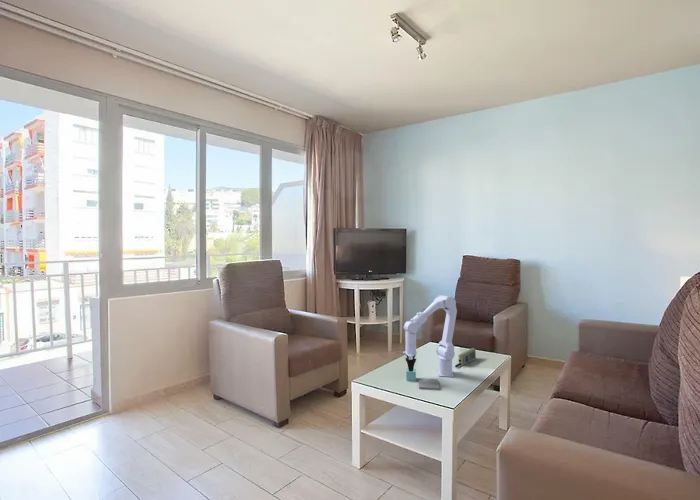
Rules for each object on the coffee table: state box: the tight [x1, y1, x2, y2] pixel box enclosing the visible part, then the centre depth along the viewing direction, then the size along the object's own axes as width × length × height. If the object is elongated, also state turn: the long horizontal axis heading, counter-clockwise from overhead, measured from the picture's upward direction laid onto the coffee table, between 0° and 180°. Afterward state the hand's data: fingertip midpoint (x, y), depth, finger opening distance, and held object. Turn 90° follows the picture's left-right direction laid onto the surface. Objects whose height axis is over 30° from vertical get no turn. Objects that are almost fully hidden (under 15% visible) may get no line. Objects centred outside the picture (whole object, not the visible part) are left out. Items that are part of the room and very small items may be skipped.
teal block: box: [405, 368, 417, 382], centre depth 202 cm, size 5×5×5 cm
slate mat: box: [418, 378, 440, 391], centre depth 194 cm, size 12×10×1 cm
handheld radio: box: [454, 347, 477, 368], centre depth 228 cm, size 7×3×25 cm
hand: (410, 368), depth 202 cm, fingers open, 7 cm apart
